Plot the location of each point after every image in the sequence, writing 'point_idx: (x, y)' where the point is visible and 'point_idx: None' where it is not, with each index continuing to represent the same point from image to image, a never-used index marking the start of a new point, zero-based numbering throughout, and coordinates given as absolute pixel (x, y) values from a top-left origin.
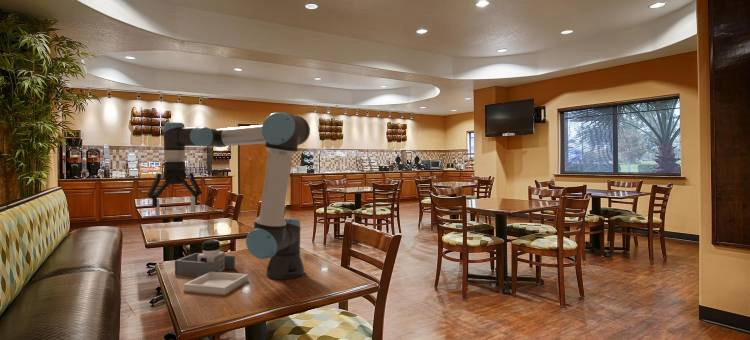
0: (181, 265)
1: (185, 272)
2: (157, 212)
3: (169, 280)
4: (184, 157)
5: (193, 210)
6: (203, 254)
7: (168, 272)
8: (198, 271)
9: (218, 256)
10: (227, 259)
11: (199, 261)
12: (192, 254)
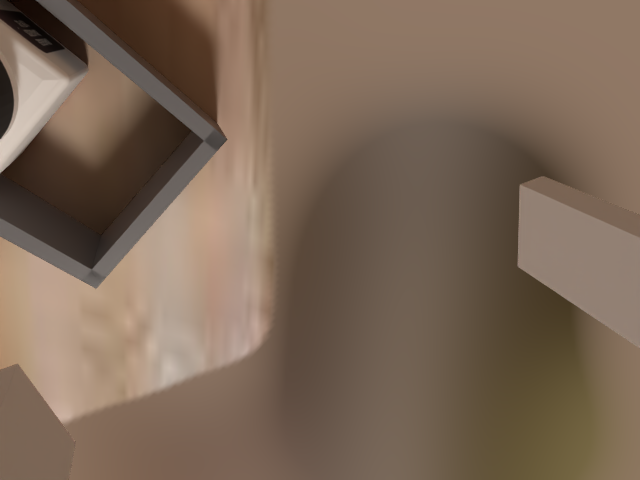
0: (186, 101)
1: (161, 75)
2: (582, 192)
3: (249, 5)
4: None
5: (6, 386)
6: (12, 58)
7: (247, 172)
8: (75, 1)
9: None
10: None
11: (60, 58)
12: (116, 256)
